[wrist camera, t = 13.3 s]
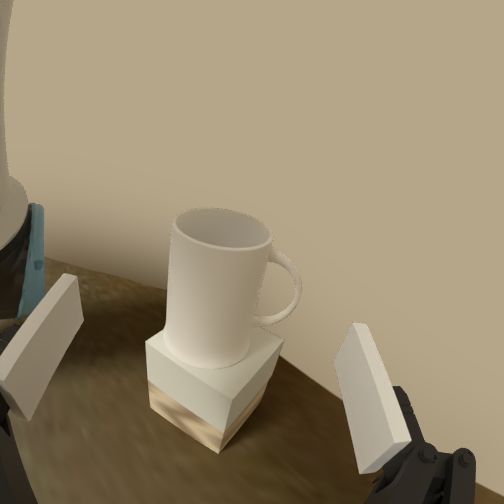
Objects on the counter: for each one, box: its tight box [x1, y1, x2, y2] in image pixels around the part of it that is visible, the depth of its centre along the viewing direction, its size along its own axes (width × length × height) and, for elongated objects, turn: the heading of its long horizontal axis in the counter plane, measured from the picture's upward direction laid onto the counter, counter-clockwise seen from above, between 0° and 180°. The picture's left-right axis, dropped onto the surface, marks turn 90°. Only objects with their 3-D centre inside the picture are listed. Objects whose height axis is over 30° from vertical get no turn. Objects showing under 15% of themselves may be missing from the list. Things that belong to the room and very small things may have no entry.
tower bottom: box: [148, 380, 268, 454], centre depth 34 cm, size 10×10×6 cm
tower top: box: [145, 327, 284, 433], centre depth 31 cm, size 10×10×6 cm
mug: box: [163, 208, 302, 369], centre depth 27 cm, size 12×8×12 cm
